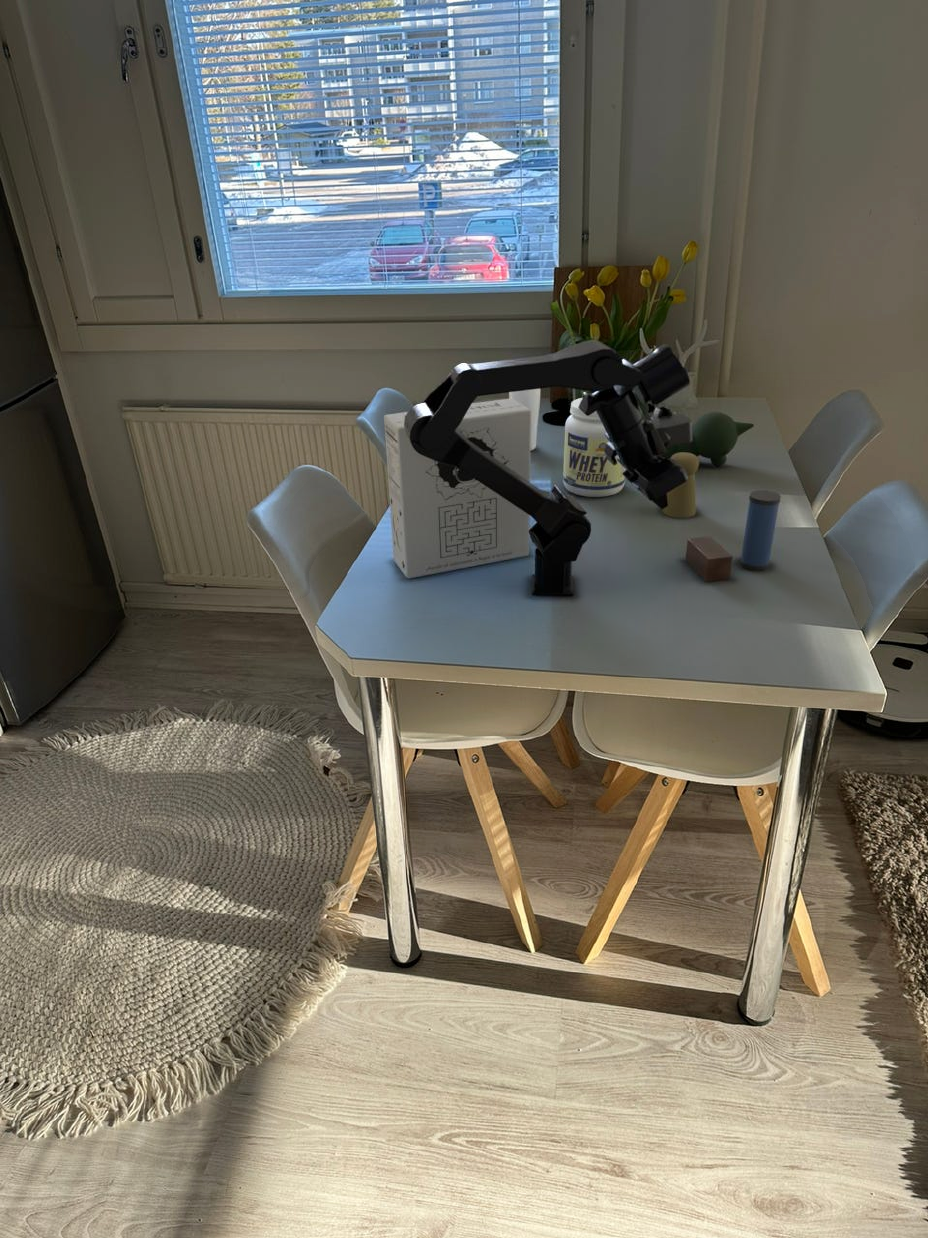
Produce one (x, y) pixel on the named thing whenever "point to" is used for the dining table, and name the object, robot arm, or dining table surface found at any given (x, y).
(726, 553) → the walnut block
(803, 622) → the dining table surface
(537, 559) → the robot arm
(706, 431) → the toy figurine
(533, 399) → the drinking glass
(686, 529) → the dining table surface
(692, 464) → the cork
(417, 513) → the cereal box
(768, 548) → the tube
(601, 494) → the supplement tub
